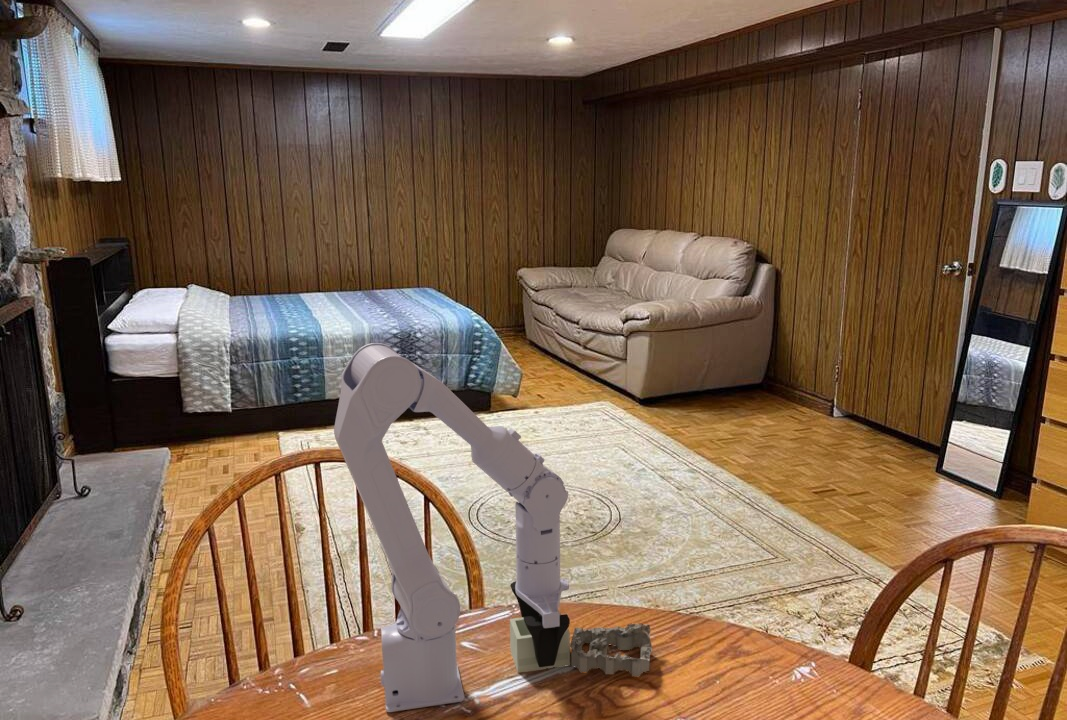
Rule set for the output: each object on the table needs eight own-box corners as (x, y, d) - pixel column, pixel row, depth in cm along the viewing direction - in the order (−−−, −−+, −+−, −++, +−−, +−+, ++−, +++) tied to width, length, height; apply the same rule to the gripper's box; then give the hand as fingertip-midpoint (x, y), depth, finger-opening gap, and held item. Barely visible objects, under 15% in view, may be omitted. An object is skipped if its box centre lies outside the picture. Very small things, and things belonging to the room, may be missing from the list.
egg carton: (653, 650, 108) (653, 623, 107) (649, 683, 101) (649, 654, 100) (575, 641, 110) (575, 614, 109) (566, 673, 103) (566, 644, 102)
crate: (517, 673, 103) (517, 639, 102) (510, 652, 108) (509, 618, 107) (569, 666, 104) (569, 632, 103) (560, 645, 109) (560, 612, 108)
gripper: (583, 576, 97) (583, 675, 100) (554, 528, 111) (555, 616, 113) (526, 583, 95) (528, 684, 98) (504, 533, 109) (506, 623, 112)
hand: (539, 648), depth 106 cm, fingers open, 7 cm apart
